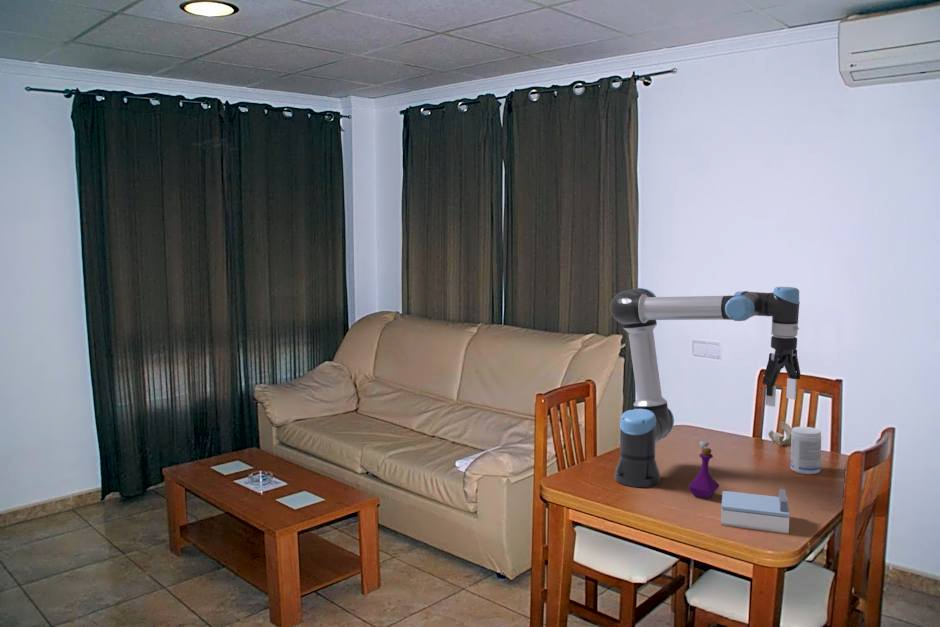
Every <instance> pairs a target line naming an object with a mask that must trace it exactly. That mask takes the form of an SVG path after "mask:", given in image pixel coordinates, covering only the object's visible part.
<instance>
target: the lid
mask: <svg viewBox="0 0 940 627" xmlns="http://www.w3.org/2000/svg"><path fill="white" fill-rule="evenodd" d="M721 496H722V497H721V508H720V509H726V510H734V511H742V512H751V513H759V514H768V515H776V516H784V517H789V518H790V508H789V503H788V502H789V501H788V497H787V494H786V489H785V488H784V489H783V488H779V489H778V496H776V495H775V496H773V495H764V494H756V493H747V492H737V491H729V490H722V494H721Z"/></svg>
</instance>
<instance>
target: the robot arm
mask: <svg viewBox="0 0 940 627" xmlns="http://www.w3.org/2000/svg"><path fill="white" fill-rule="evenodd" d="M800 303H801V302H800V290H799V289H798V288H797V287H794V286H793V287H792V286H776V287H774V288H773V291H772V292H758V291H748V290H745V291H735V292H734V294H733V295H701V296H700V295H696V296H694V295H693V296H656V294H655V293H654V292H653V291H652V290H650V289H647V288H642V287H638V288H637V287H636V288H632V289H627V290H623V291H621V292H618V293H617V294H615V296H613V298H612V300H611V302H610V306H609V308H610V314H611V316H612V317H613V319H614V320H615V321H617V323H620V324H622V326H623V327H622V328H623V330H624V331H625V332H627V333H628V334H627V335H628V339H629V348H630V355H631V362H632V369H633V378H634V384H635V385H634V386H635V393H636V400H635V402H633V409H628V410H626V411H624V412H623V413H622V415H620V416H621V417H620V423H619V430H620V431H619V432H620V434H619V436H620V438H619V439H620V440H619V442H620V443H619V444H620V445H619V446H620V447H619V449H620V450H619V454H620V455H619V459H618V463H617V465H616V467H615V470H614V471H615V472H614V480H615V481H616V482H617V483H619V484H620V485H623V486H627V487H631V488H633V487H634V488H650V487H655V486H657V485H659V484H660V483H661V473H660V470H659V466H658V464H657V461H656V460H657V459H656V444H657V442H659V441H660V440H662V439H664V438H666V437H667V436H668V435H669V434H670V433H671V431H672V429H673V428H674V424H675V423H674V422H675V418H674V415H673V412H672V410H671V409H670V408H669V407H668V401H667V400H666V398H664V397H663V395H662V388H661V380H660V373H659V367H658V366H659V365H658V364H659V363H658V358H657V357H658V356H657V350H656V342H655V341H656V340H655V336H654V335H655V334H654V329H655V328H656V326H658V325H657V322H658V321H674V320H675V321H685V320H686V321H690V320H691V321H697V320H698V321H700V320H701V321H705V320H708V321H709V320H710V321H711V320H712V321H713V320H714V321H715V320H716V321H717V320H718V321H719V320H726V321H728V320H729V321H733V322H734V321H735V322H745V321H747V320H749V319H750V318H753V317H754V316H755V317H756V316H759V317H772V318H771V319H772V320H771V335H772V336H771V338H770V347H771V349H774V353H772V352H770V353H769V354H768V362H767V364H766V367H765V372H764V375H763V379H762V384H763V385H765V386H766V388H765V389H766V390H765V404H764V405H765V406H768V407H776V393H777V385H776V383H777V380H778V377H779V375H780V374H781V371H782V369H783V368H785V371H786V373H787V375H788V378H787V379H786V395H785V396H786V397H785V398H786V399H788V400H789V399H790V400H796V399H797V398H796V396H797V393H796V392H797V380H800V379H801V370H800V365H799V357H798V349H797V347H798V338H797V336H798V331H799V330H800V328H799V315H800V314H799V313H800V312H799V311H800Z"/></svg>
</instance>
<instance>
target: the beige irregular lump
mask: <svg viewBox="0 0 940 627" xmlns="http://www.w3.org/2000/svg"><path fill="white" fill-rule="evenodd" d="M779 426H780V428H781V430H782V431H783V432H785V435H786V438H785V435H784V434H781V433H780V432H774V430H770V431H769V432H768V436H769V439H770V440H771V441H772V443H773V442H774V443H773V444H776V445H779V446H780V447H782V446H786V445H787V446H788V445H791V432H792V427H791V426H790V424H788V423H787V422H784V421H782V422H780V424H779ZM784 438H785V439H784ZM783 439H784V440H783ZM785 444H786V445H785Z"/></svg>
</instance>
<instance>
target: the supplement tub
mask: <svg viewBox="0 0 940 627" xmlns="http://www.w3.org/2000/svg"><path fill="white" fill-rule="evenodd" d="M791 429H792V432H791V441H790V469H791V470H792V471H793V472H795V473H798V474H802V475H816V474H819V473H820V472H821V465H822V463H821V460H822V459H821V458H822V431H821V430H820V429H819V428H815V427H811V426H795V427H791Z"/></svg>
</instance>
